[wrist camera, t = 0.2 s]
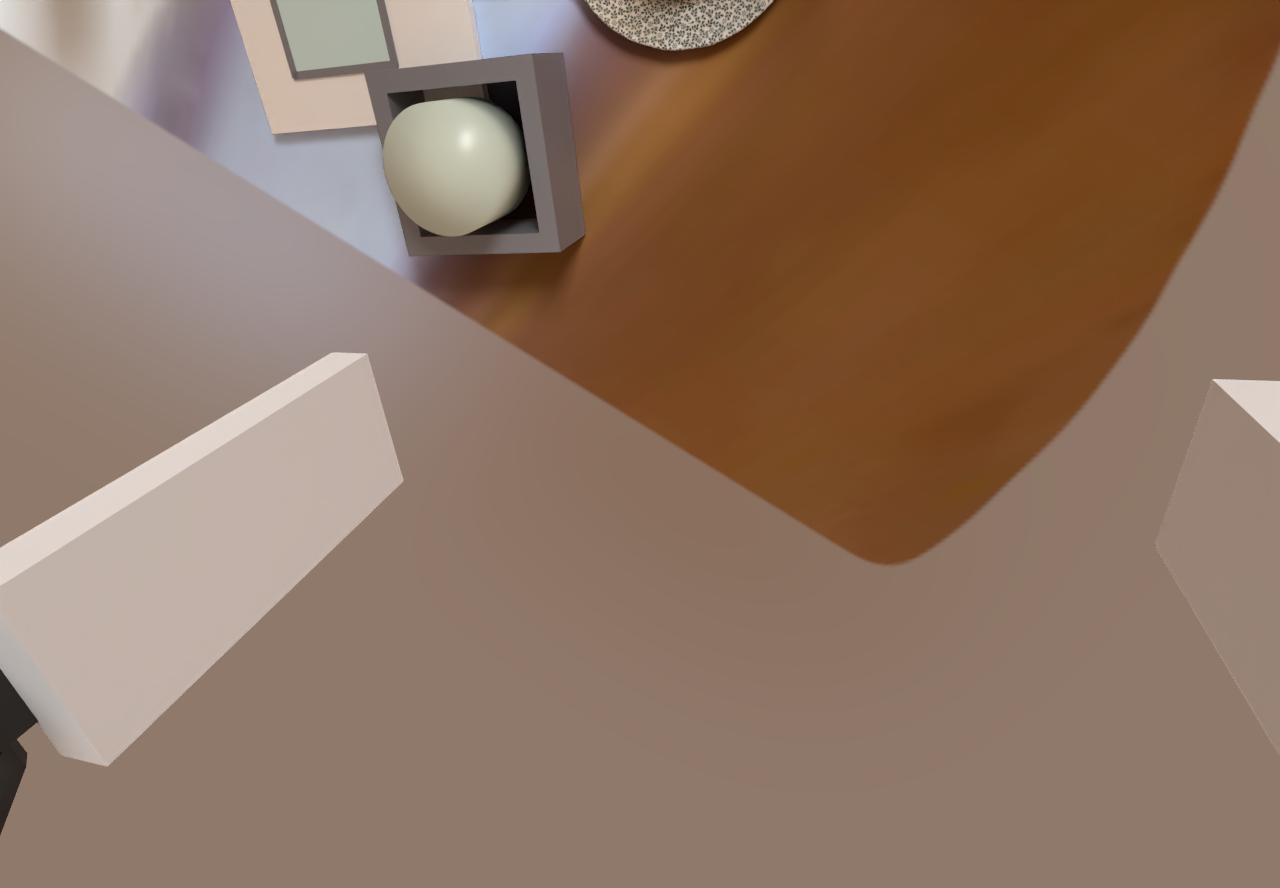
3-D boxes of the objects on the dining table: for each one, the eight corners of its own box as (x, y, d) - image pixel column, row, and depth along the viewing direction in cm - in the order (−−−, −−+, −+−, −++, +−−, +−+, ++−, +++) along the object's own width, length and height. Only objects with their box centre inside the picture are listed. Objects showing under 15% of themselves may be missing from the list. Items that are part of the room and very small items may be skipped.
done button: (414, 101, 36) (368, 107, 32) (520, 91, 34) (484, 96, 31) (440, 221, 38) (401, 238, 35) (540, 217, 37) (508, 234, 33)
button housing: (407, 70, 37) (363, 72, 34) (562, 52, 35) (532, 53, 32) (445, 239, 42) (409, 256, 38) (585, 234, 39) (560, 252, 36)
